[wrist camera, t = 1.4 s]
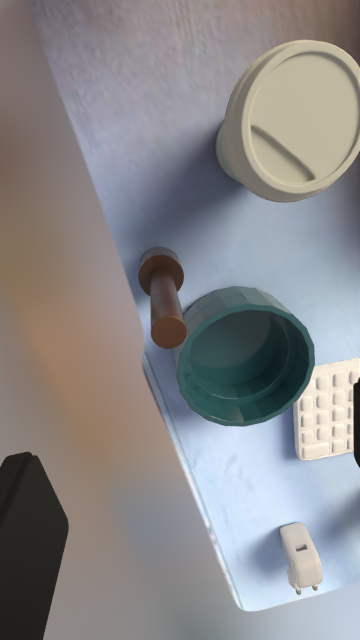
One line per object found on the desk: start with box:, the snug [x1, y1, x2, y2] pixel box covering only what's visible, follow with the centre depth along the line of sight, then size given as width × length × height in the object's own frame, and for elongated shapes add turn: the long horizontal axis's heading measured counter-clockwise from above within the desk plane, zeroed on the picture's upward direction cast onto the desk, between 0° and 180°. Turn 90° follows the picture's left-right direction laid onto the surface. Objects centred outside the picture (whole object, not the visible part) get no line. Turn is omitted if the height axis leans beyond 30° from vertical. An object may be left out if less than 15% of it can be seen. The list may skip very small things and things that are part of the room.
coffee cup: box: [216, 40, 360, 202], centre depth 24 cm, size 8×9×12 cm
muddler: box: [139, 247, 187, 349], centre depth 26 cm, size 4×4×16 cm
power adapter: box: [280, 522, 322, 595], centre depth 48 cm, size 11×5×6 cm, turn 14°
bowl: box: [173, 286, 315, 426], centre depth 34 cm, size 13×13×6 cm
